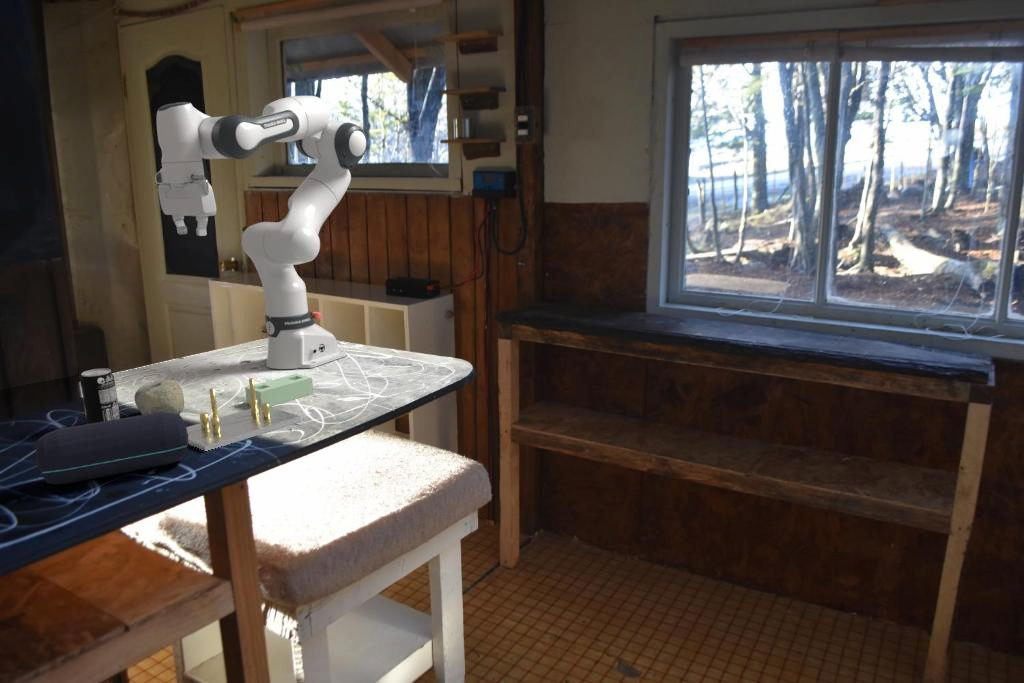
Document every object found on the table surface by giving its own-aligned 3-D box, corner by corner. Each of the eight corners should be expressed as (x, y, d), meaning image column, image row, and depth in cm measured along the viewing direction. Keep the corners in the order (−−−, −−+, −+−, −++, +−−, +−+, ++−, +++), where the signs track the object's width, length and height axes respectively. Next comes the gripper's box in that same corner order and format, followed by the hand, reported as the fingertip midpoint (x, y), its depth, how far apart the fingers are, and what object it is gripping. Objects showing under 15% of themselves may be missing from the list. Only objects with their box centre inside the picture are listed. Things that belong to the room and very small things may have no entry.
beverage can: (89, 422, 177) (81, 370, 174) (122, 417, 179) (114, 366, 177) (85, 431, 171) (76, 377, 168) (119, 426, 173) (111, 373, 171)
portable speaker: (188, 450, 158) (181, 402, 155) (193, 467, 149) (186, 416, 147) (42, 477, 146) (33, 426, 144) (40, 497, 138) (29, 442, 135)
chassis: (265, 409, 181) (260, 367, 179) (300, 421, 172) (296, 377, 170) (171, 437, 165) (165, 391, 163) (205, 451, 156) (198, 403, 154)
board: (298, 389, 196) (296, 373, 195) (313, 393, 192) (311, 377, 191) (246, 403, 186) (245, 387, 185) (262, 408, 182) (260, 391, 181)
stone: (183, 386, 188) (179, 365, 180) (187, 425, 183) (182, 405, 175) (137, 393, 185) (130, 371, 177) (140, 432, 180) (132, 412, 172)
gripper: (219, 173, 180) (226, 235, 183) (176, 174, 193) (184, 231, 196) (192, 175, 175) (200, 238, 178) (151, 176, 189) (159, 234, 192)
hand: (192, 234), depth 187 cm, fingers open, 8 cm apart
